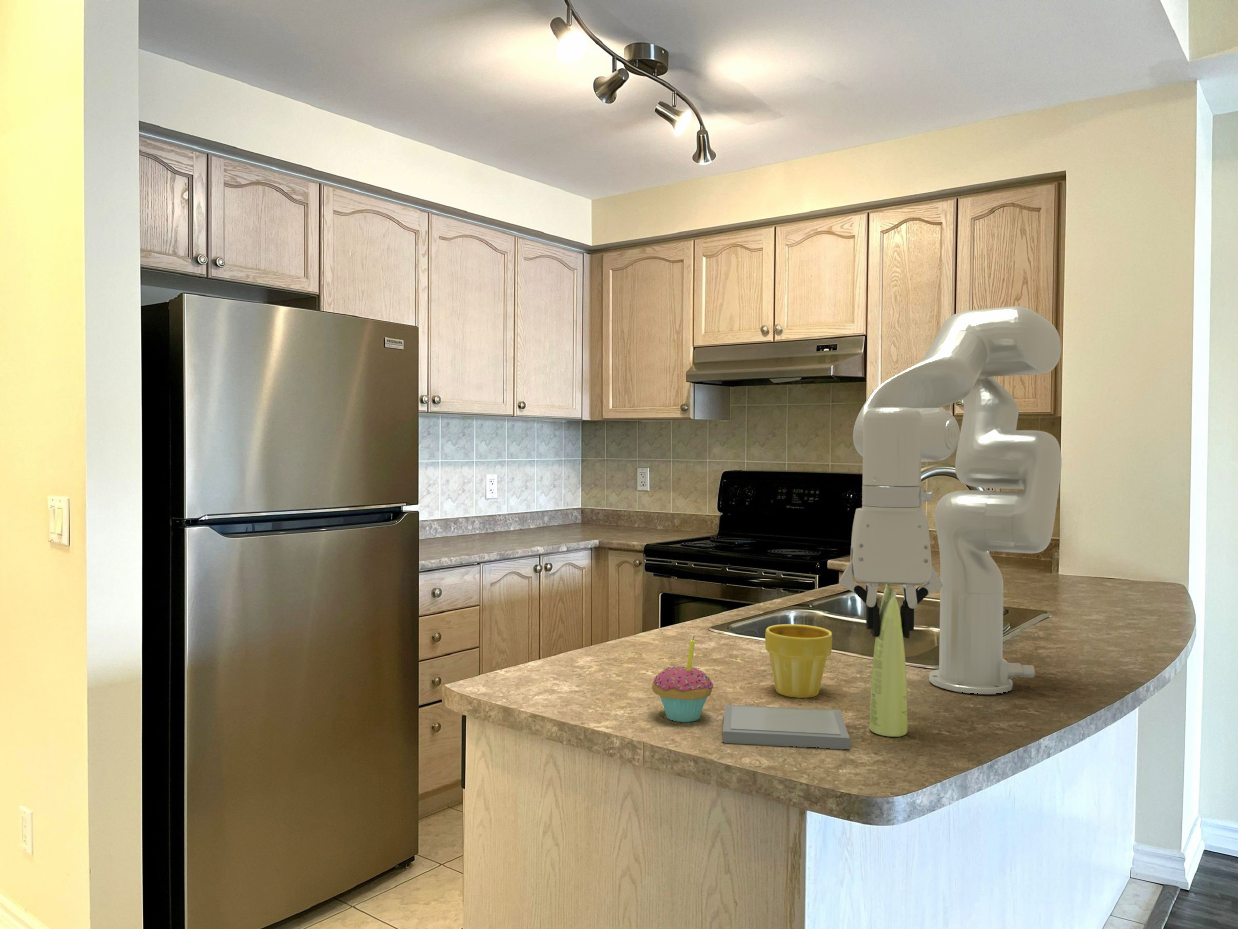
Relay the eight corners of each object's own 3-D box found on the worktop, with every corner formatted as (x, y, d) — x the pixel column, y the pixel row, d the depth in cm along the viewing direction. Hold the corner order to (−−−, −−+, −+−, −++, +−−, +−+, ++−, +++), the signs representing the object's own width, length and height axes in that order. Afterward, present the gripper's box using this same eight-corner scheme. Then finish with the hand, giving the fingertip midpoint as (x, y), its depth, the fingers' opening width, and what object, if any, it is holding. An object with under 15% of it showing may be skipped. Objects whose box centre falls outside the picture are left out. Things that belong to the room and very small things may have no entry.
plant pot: (845, 696, 135) (846, 633, 135) (794, 705, 130) (795, 639, 130) (800, 680, 144) (801, 621, 144) (751, 688, 139) (751, 627, 139)
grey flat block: (839, 720, 123) (839, 709, 123) (849, 749, 111) (849, 737, 111) (725, 715, 125) (725, 704, 125) (722, 742, 113) (722, 730, 113)
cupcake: (724, 716, 124) (724, 632, 124) (688, 731, 118) (688, 642, 118) (676, 705, 130) (677, 624, 130) (639, 717, 124) (640, 633, 123)
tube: (919, 734, 117) (920, 589, 116) (894, 741, 114) (895, 592, 114) (885, 723, 121) (885, 583, 121) (860, 730, 119) (861, 586, 118)
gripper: (948, 498, 120) (947, 632, 120) (826, 497, 122) (824, 627, 122) (962, 501, 112) (960, 644, 113) (831, 500, 115) (829, 639, 115)
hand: (889, 634), depth 118 cm, fingers closed on tube, 3 cm apart
